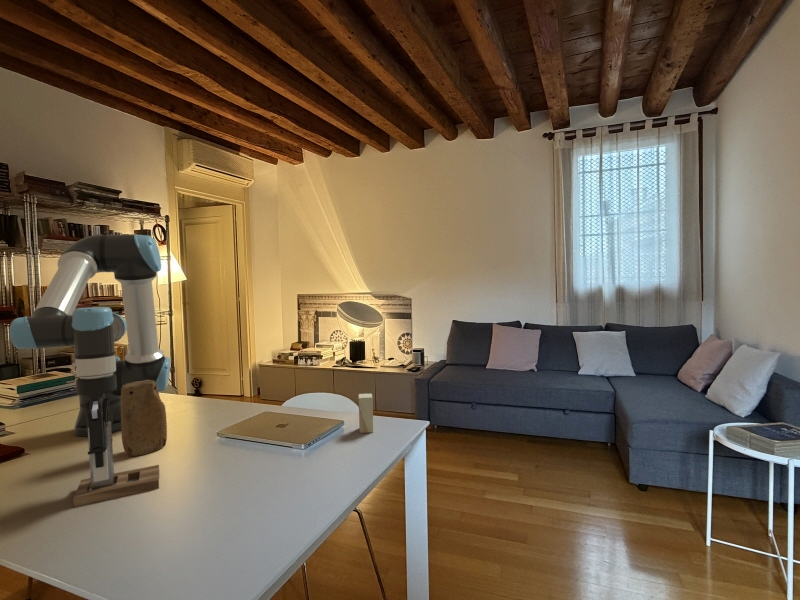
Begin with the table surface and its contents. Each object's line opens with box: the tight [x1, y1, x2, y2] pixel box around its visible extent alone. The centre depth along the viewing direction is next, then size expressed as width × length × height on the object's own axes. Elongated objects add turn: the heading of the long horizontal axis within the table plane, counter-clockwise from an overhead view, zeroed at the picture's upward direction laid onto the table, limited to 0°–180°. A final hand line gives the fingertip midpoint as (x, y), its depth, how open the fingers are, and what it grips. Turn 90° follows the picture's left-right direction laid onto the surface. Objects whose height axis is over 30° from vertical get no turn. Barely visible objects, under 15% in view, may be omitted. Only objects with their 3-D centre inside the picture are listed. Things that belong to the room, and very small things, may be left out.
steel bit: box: [87, 421, 115, 490], centre depth 101 cm, size 4×4×14 cm
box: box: [358, 393, 374, 434], centre depth 137 cm, size 5×4×11 cm
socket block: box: [73, 464, 160, 508], centre depth 103 cm, size 10×16×2 cm, turn 118°
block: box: [120, 380, 168, 457], centre depth 126 cm, size 11×8×20 cm
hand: (102, 475), depth 101 cm, fingers closed on steel bit, 4 cm apart
